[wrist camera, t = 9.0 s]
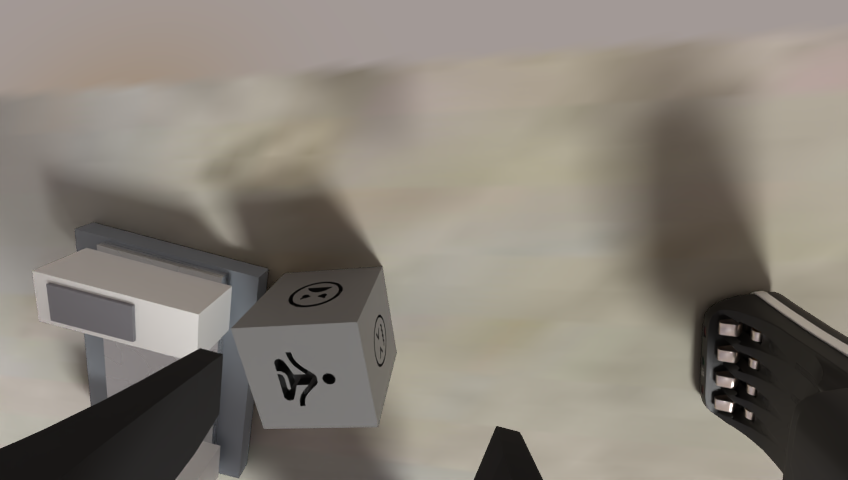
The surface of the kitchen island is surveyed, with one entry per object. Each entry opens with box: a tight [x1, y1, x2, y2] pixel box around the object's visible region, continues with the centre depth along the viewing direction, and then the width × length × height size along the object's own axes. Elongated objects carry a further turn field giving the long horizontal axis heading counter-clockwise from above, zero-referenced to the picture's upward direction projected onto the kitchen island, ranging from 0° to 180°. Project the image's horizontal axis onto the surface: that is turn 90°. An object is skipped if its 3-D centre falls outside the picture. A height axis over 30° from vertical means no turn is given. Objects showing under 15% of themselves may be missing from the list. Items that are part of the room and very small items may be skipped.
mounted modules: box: [32, 248, 232, 480], centre depth 19 cm, size 13×7×3 cm, turn 166°
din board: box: [75, 223, 268, 478], centre depth 21 cm, size 14×9×2 cm, turn 166°
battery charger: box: [700, 291, 848, 480], centre depth 14 cm, size 7×4×11 cm, turn 12°
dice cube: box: [231, 266, 397, 429], centre depth 18 cm, size 5×5×5 cm
